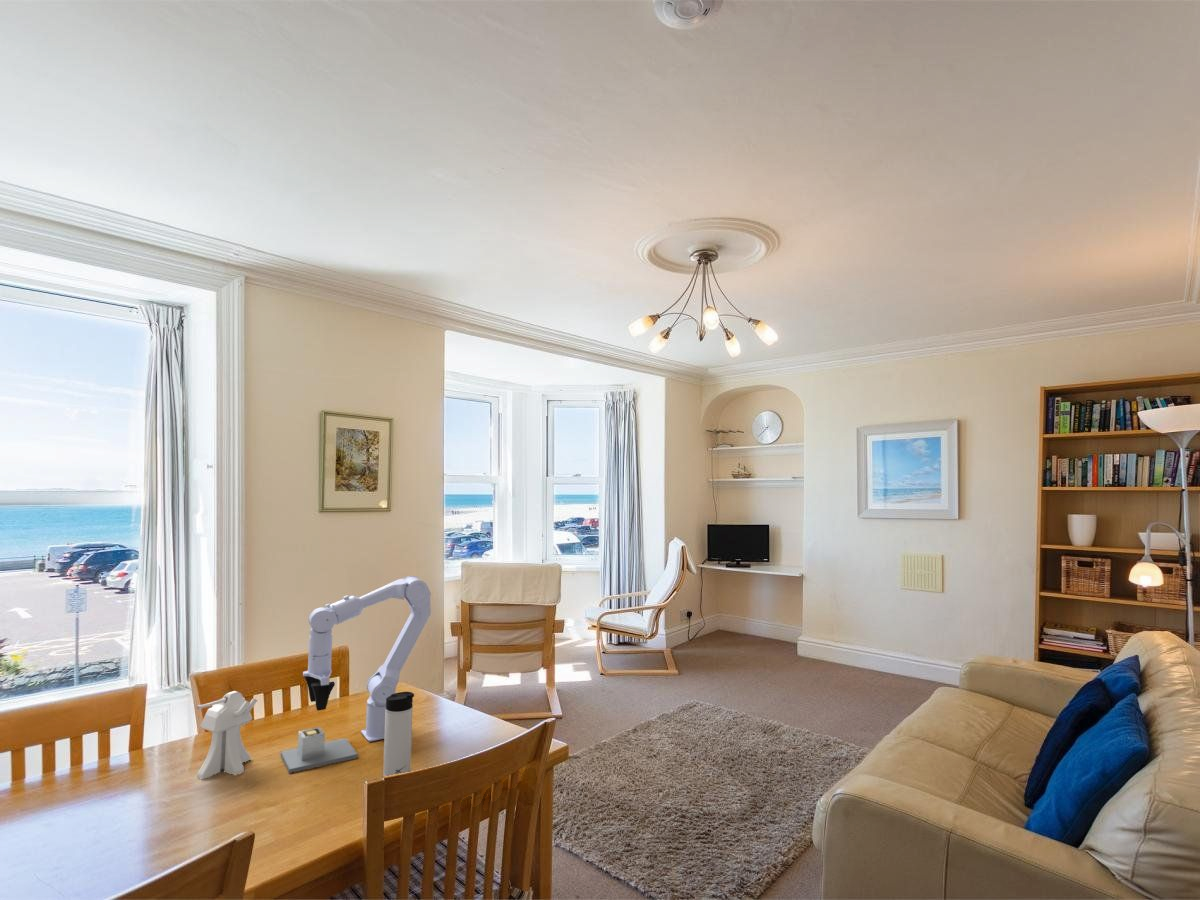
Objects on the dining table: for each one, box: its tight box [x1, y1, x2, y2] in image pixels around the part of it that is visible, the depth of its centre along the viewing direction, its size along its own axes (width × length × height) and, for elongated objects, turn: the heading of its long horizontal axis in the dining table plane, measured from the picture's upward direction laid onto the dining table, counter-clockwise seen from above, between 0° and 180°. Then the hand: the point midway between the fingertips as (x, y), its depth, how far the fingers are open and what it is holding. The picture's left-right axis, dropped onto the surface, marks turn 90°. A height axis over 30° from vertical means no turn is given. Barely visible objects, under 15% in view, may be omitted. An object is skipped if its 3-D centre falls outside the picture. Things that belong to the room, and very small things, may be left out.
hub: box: [297, 726, 326, 761], centre depth 163 cm, size 5×5×6 cm
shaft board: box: [280, 730, 359, 774], centre depth 164 cm, size 16×12×6 cm
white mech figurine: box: [196, 690, 258, 780], centre depth 157 cm, size 12×13×18 cm
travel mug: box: [382, 691, 415, 778], centre depth 154 cm, size 6×7×20 cm
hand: (318, 705), depth 172 cm, fingers open, 7 cm apart
